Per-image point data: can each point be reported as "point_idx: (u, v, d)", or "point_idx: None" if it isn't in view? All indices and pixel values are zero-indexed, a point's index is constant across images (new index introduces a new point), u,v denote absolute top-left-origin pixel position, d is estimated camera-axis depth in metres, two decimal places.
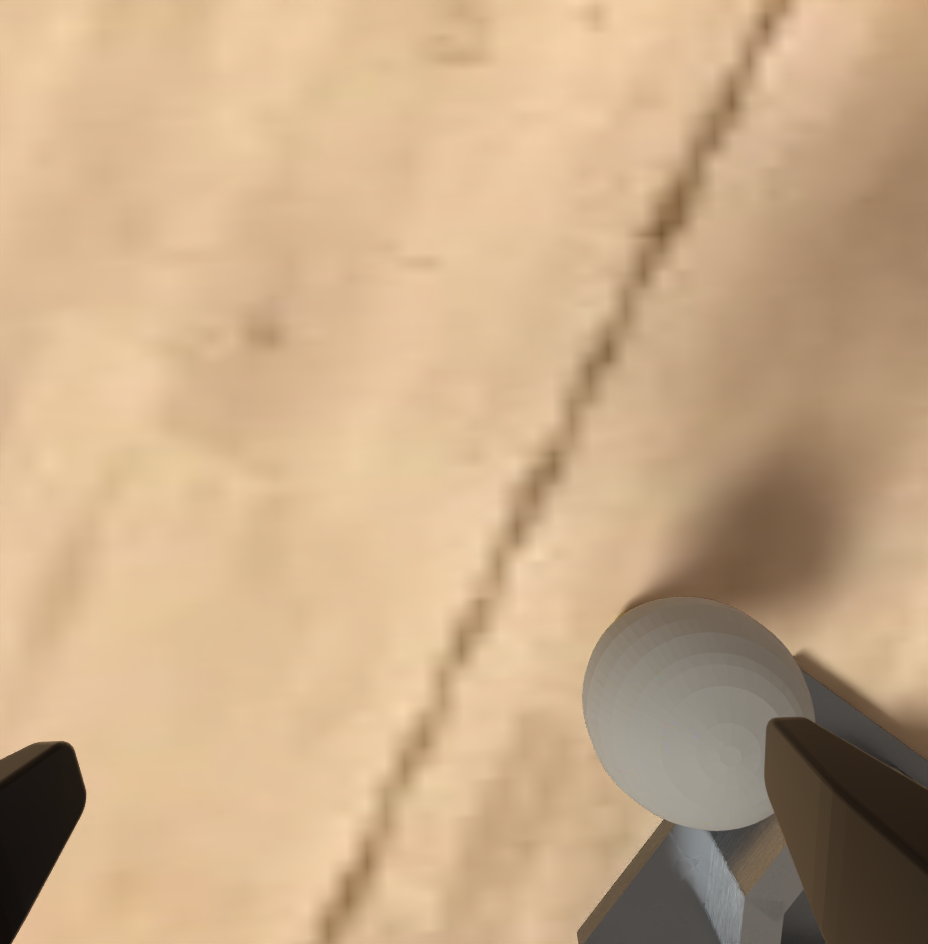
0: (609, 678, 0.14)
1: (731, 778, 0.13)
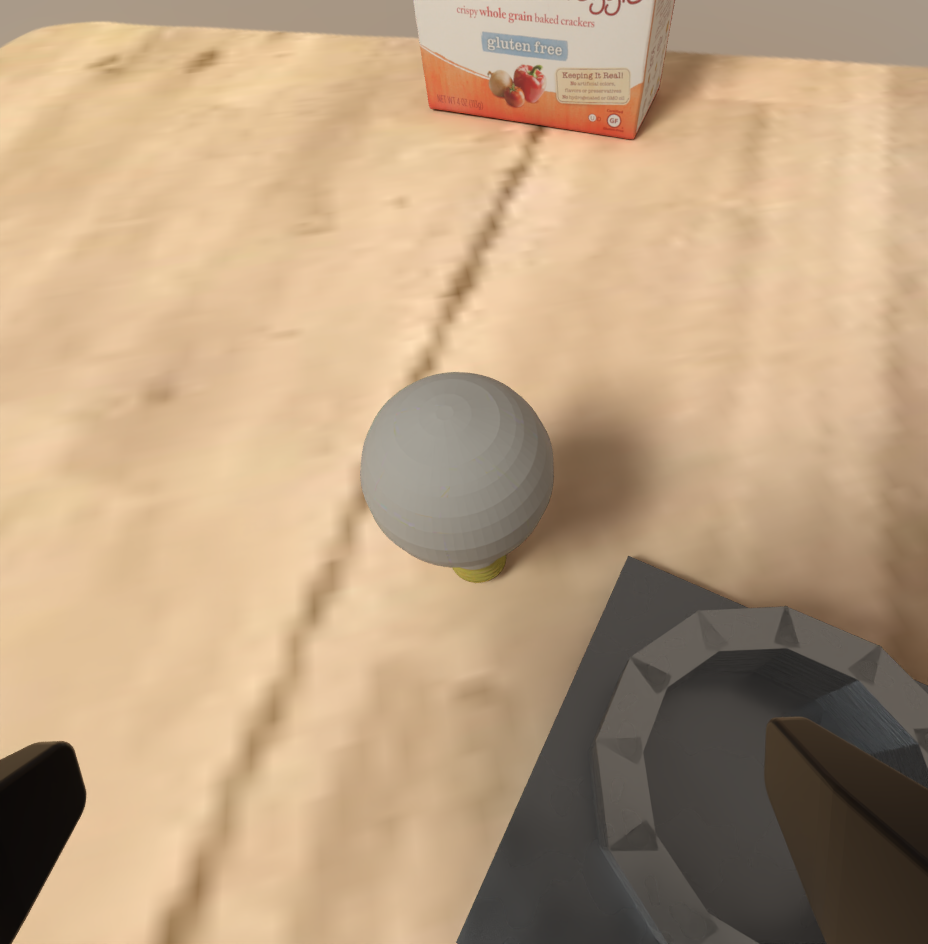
0: (369, 430, 0.17)
1: (448, 430, 0.15)
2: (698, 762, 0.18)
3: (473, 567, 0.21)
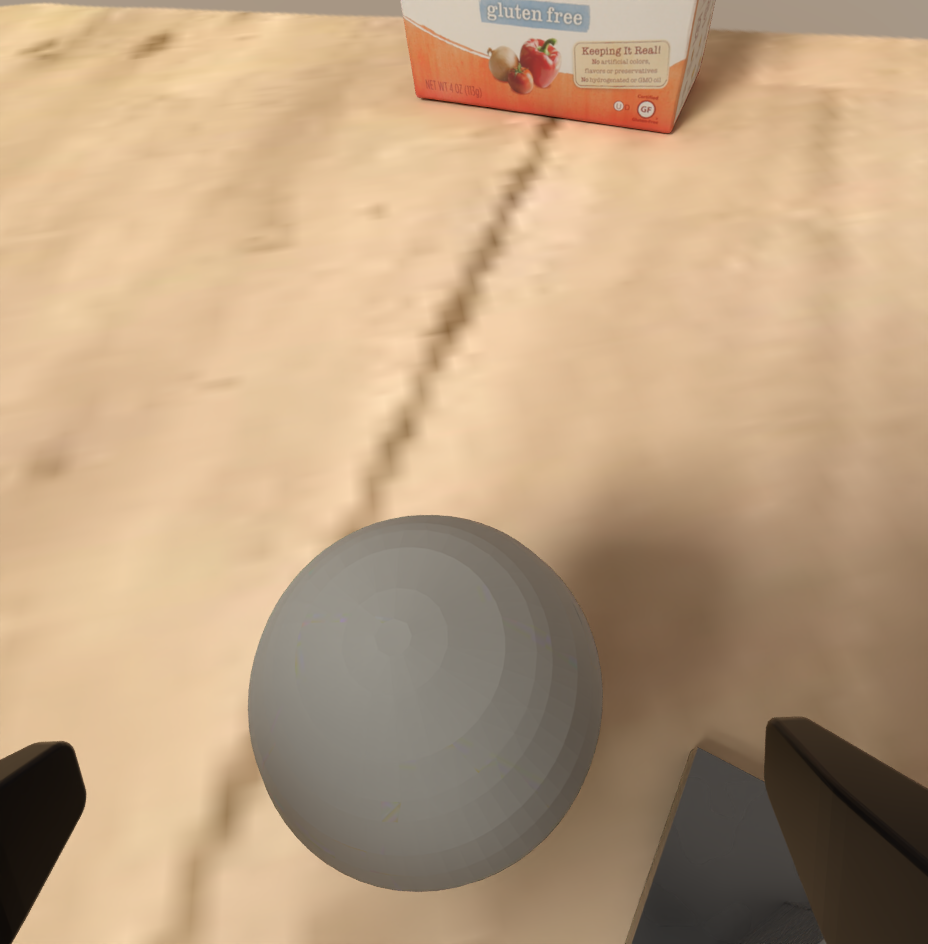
0: None
1: (399, 679, 0.07)
2: None
3: None
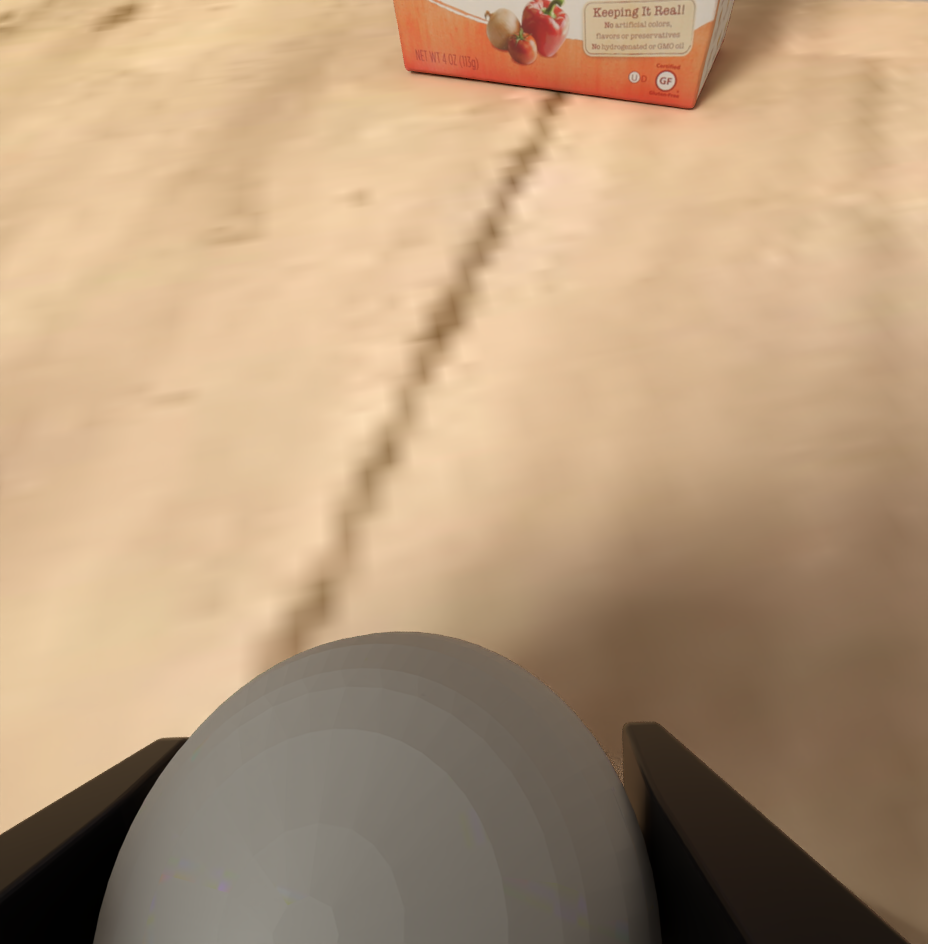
0: None
1: None
2: None
3: None
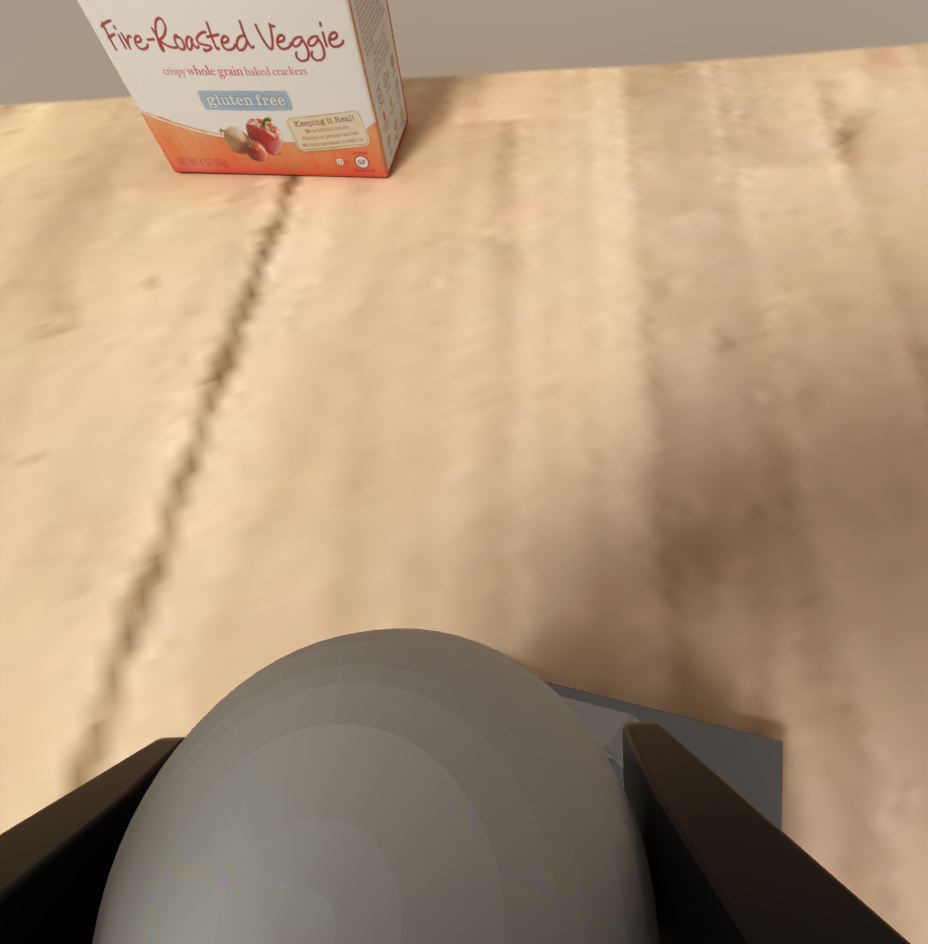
0: None
1: None
2: None
3: None
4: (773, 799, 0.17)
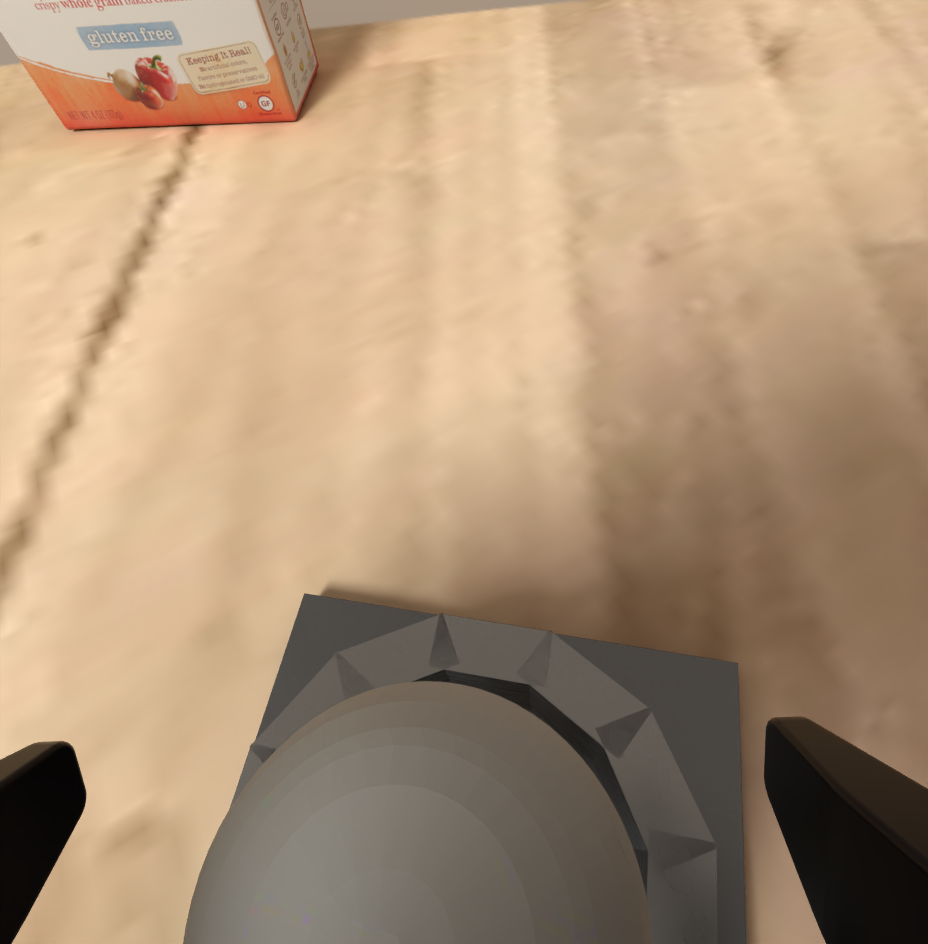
0: (210, 848, 0.07)
1: None
2: None
3: None
4: (730, 729, 0.15)
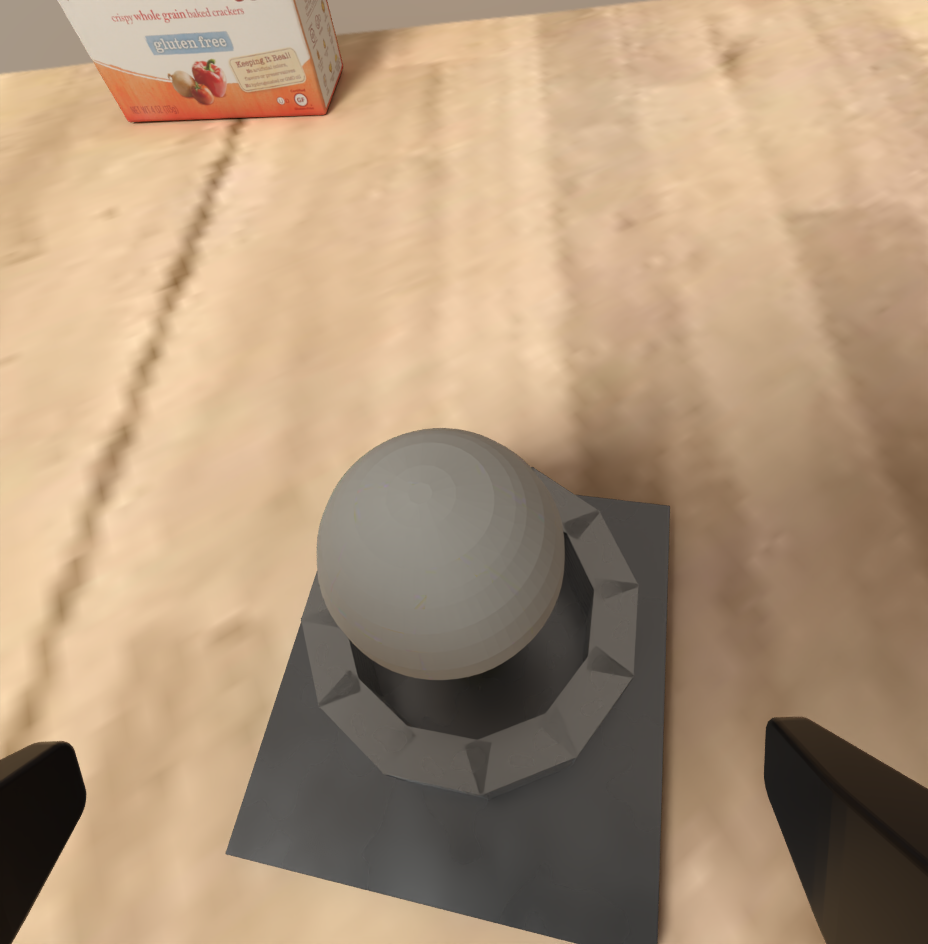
0: None
1: (424, 518, 0.11)
2: None
3: None
4: (662, 547, 0.21)
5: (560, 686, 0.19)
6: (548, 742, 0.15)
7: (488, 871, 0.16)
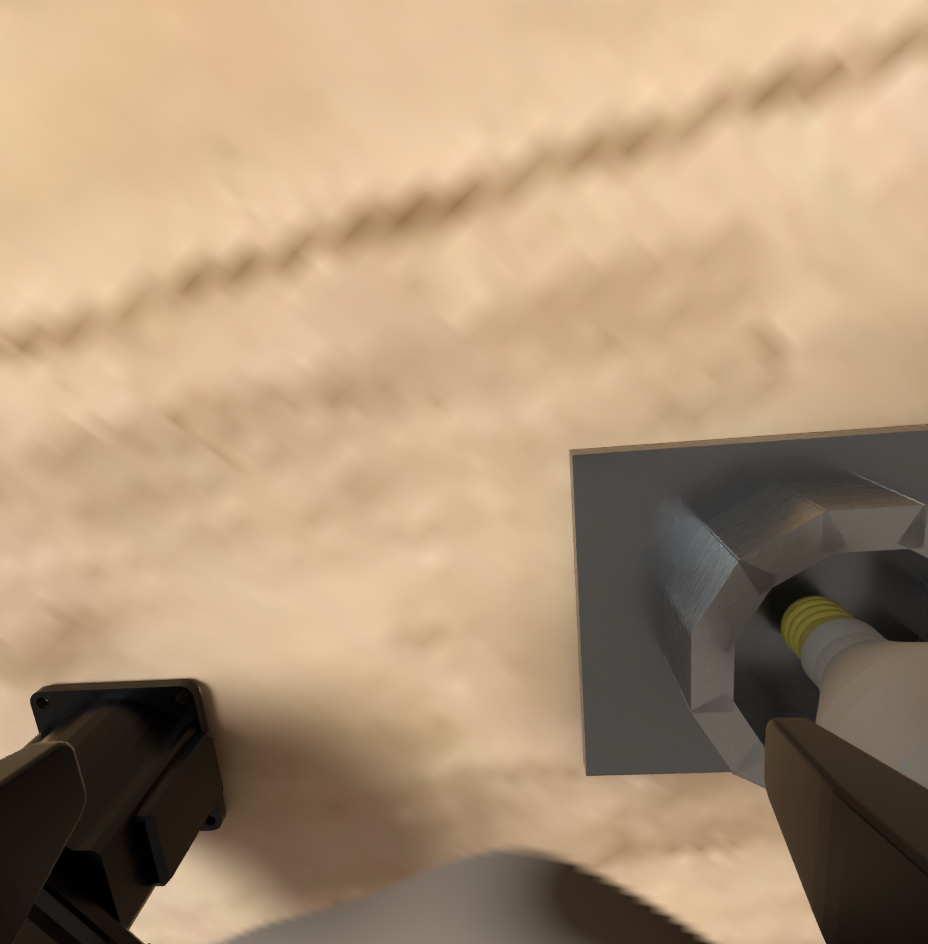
0: None
1: None
2: (814, 570, 0.19)
3: (804, 666, 0.17)
4: None
5: (766, 695, 0.21)
6: (741, 753, 0.18)
7: (613, 665, 0.21)
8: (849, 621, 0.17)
